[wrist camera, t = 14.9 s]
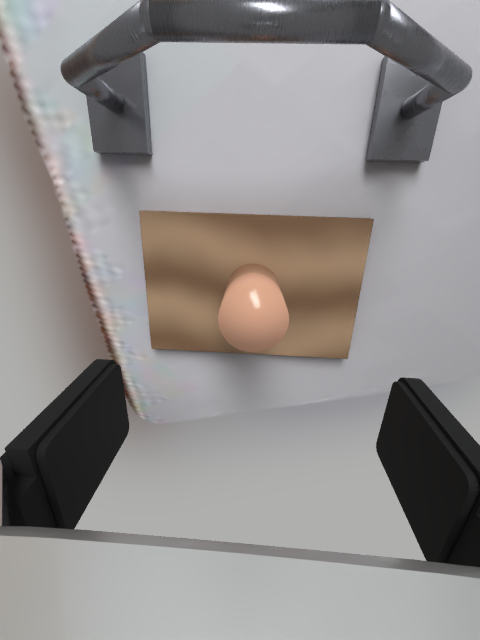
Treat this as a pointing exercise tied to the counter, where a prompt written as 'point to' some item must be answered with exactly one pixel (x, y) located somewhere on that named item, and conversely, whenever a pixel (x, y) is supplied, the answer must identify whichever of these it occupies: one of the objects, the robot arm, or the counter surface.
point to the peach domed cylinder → (253, 309)
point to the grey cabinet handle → (269, 27)
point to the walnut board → (253, 248)
